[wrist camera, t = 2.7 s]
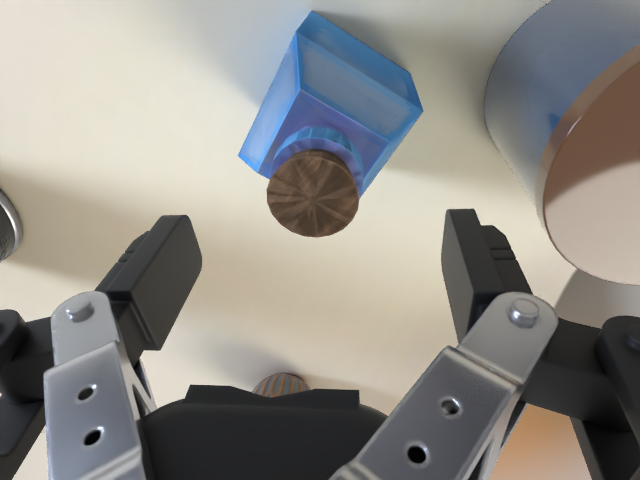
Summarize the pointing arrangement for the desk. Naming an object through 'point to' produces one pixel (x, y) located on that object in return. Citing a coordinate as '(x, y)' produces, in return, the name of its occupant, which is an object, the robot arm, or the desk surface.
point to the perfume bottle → (328, 127)
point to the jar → (576, 128)
